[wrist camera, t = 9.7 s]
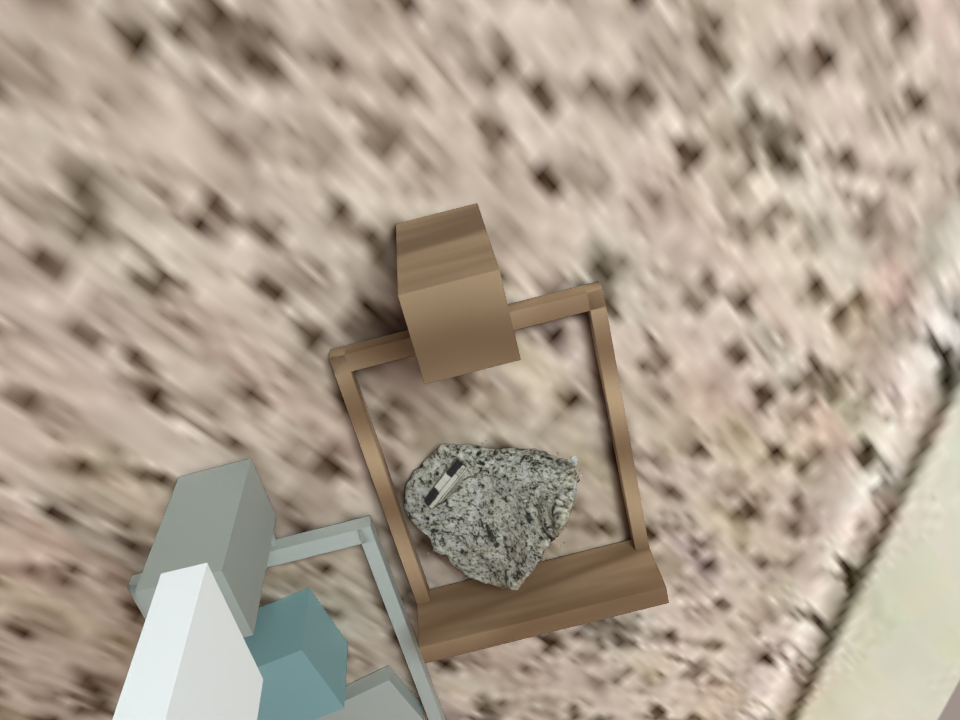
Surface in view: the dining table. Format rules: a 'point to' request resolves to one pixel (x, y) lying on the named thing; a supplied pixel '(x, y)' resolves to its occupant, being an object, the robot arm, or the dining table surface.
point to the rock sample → (492, 508)
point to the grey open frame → (260, 553)
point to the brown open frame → (472, 347)
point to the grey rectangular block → (378, 699)
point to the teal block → (298, 659)
